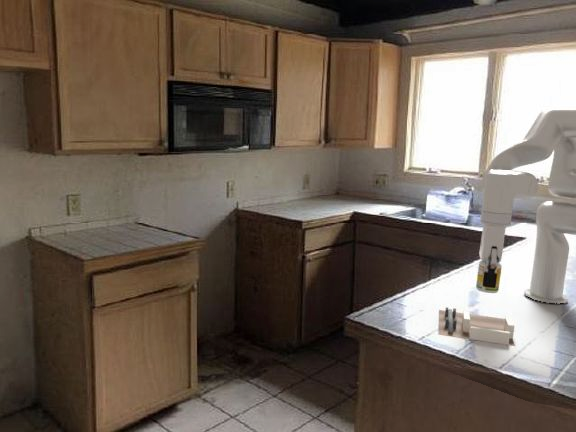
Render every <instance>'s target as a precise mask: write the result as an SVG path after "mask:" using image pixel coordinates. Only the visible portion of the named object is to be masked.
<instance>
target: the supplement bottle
mask: <svg viewBox="0 0 576 432" xmlns="http://www.w3.org/2000/svg"><path fill="white" fill-rule="evenodd" d="M498 259H499V258H498ZM488 261H491V259H488ZM489 264H490V263H489ZM489 264H488V265H489ZM502 267H503V266H502V264H501V262H499V263H498V265H497V280H496V287H495V288H490V287H483V277H484V272H485V270H486V260H484V261H482V260H480V261H479V263H478V268H477V277H476V287H475V288H476V290H477V291H479V292H483V293H487V294H496V293H498V291H500V290H499V289H500V280H501V274H502V269H503V268H502Z"/></svg>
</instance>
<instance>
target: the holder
mask: <svg viewBox="0 0 576 432" xmlns="http://www.w3.org/2000/svg"><path fill="white" fill-rule="evenodd" d="M462 313H463V318H462V330H463V332H469V326H470V314H471V313H470V311H466V310H465V311H464V310H463V311H462ZM504 319H505V323H504V331H500V330H493V329H487V328H480V327H473V326H471V328H470V337H469V338H470V339H469V340H471V339H473V341H478V340H479V341H480V342H485V341H486V343H491V342H493V343H492V344H498V343H499V345H504V344H506V346H510V345H509V338H510V339H513V340H514V333H515V332H514V331H515V322H514V321H513V318H512V317H510V316H509V317H508V316H505V318H504Z"/></svg>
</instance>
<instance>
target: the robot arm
mask: <svg viewBox="0 0 576 432" xmlns="http://www.w3.org/2000/svg"><path fill="white" fill-rule="evenodd" d="M552 154H553V158H552V164H551V168H550V173H549V177H548V184H547V190H548V191H547V192H549V194H550V195H551V196H553V197H557V198H561V199H562V198H564V199H570V200H571V199H572V200H576V106H552V107H547V108H545V109H543V110H541V111H540V113H539V114H538V116H537V117H536V118H535V120H534V122H533V124H532V125H531V127H530V129H529V130H528V132H527V133H526V134H525V136H524V138H523V140H521V141H520V142H518V143H516V144H513V145H512V146H509V147H508V148H506V149H505V150H503V151H501V152H500V153H498V154H497V155H496V156H495V157H494V158H493V159H492V160H491V162H490V164H489V165H488V166H487V168H486V170H485V171H484V173H483V175H482V179H481V189H482V191H483V195H482V196H483V197H482V205H481V212H480V221H479V223H480V224H483V227H482V232H481V239H480V246H479V252H478V254H479V259H480V261H484V260H486V270H485V272H484V277H483V287H490V288H495V287H496V280H497V265H498V263H501V262H502V258H503V251H504V243H505V236H506V235H505V234H506V227H510V226H511V224H512V223H511V222H512V215H513V209H514V208H513V207H514V200H520V201H527V200H530V199H531V198H533V197H534V196H535V195H536V194H537V192H538V189H539V181H538V179H537V177H536V176H535V175H534V174H532V173H530V172H527V171H518V170H514V169H517V168H520V167H523V166H529V165H532V164H535V163H536V164H537V163H540V162H543V161H545V160H547V159H549V158H550V157H551V156H552ZM535 213H536V214H535V215H536V216H535V218H536V219H535V221H536V240H535V249H534V254H533V255H534V257H533V264H532V271H531V279H530V280H531V281H530V287H529V288H527V289H524V293H523V295H524V294H525V295H526V296H528V297H530V298H532V299H535V300H538V301H537V302H539V301H541V302H540V303H543V302H546V303H545V304H549V303H555V304H554V305H561V304H560V303H564V304H567V303H568V300H569V299H568V296H567V295H565V294H564V288H565V282H566V274H567V268H568V261H569V260H568V259H569V254H570V244H569V242H568V239H567V238H566V236H565V234H568V235H573V236H576V203H572V202H566V201H565V202H564V201H557V200H549V201H544V202H542V203H541V204H540V205H539V206H538V208H537V210H536V212H535ZM498 258H499V259H498ZM488 259H491V261H488ZM489 263H490V264H489ZM488 264H489V265H488ZM525 295H524V296H525ZM526 296H525V297H526ZM528 297H527V298H528ZM530 298H529V299H530ZM532 299H531V300H532ZM535 300H534V301H535ZM556 303H557V304H556Z"/></svg>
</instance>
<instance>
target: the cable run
mask: <svg viewBox="0 0 576 432" xmlns="http://www.w3.org/2000/svg"><path fill="white" fill-rule="evenodd" d="M444 311H445V317H446V321H445V328H448V332H449V333H450V334H453V329H456V323H457V318H455V316H456V312H457V308H452V309H451V308H449V307H447V306H446V307H445V310H444ZM452 312H453V313H452ZM453 318H454V321H453Z"/></svg>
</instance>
